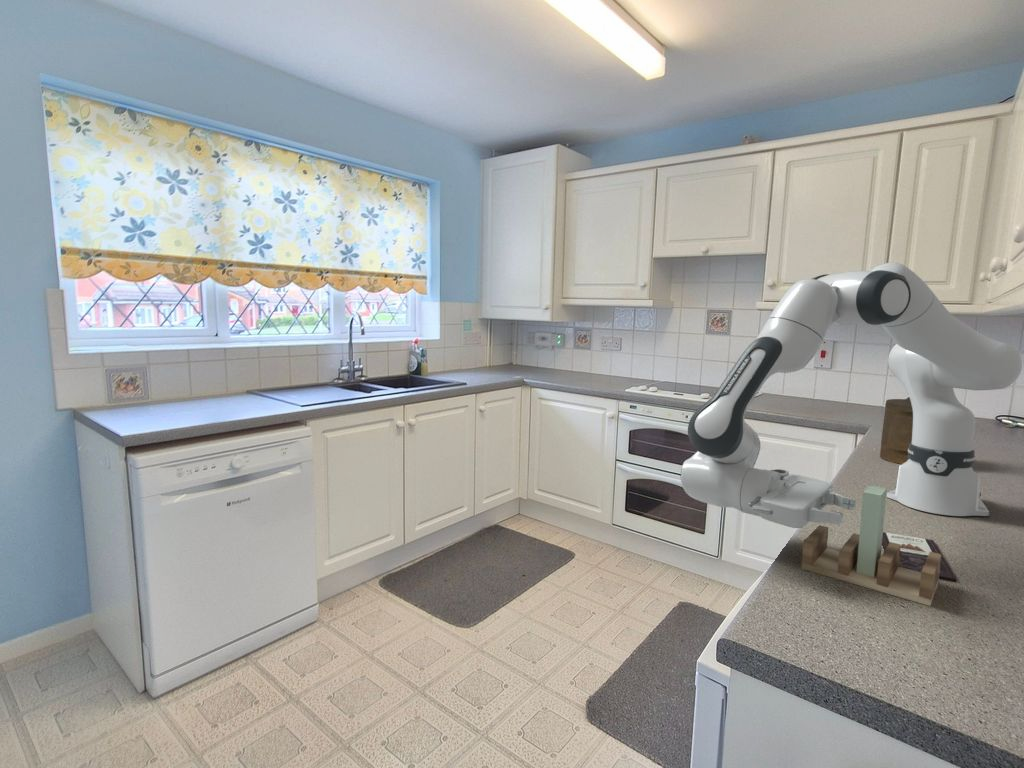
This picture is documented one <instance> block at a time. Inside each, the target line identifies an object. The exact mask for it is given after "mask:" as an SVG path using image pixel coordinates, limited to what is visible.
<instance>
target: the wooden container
mask: <svg viewBox="0 0 1024 768" xmlns="http://www.w3.org/2000/svg"><path fill="white" fill-rule="evenodd" d="M882 423H883V424H882V430H881V442H880V454H879V457H880V458H881V459H882V460H885V461H887V462H890V463H895V464H899V465H902V464H903V463H905V462H906V461H907V460H908V459H909V458H908V448H909V443H911V442H912V430H913V409H912V404H911V401H910V398H909V396H908V397H907V398H904V399H903V398H897V399H896V398H891V399H889V398H888V399H886V400H885V405H884V415H883V422H882Z"/></svg>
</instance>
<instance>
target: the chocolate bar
mask: <svg viewBox="0 0 1024 768" xmlns="http://www.w3.org/2000/svg"><path fill="white" fill-rule="evenodd" d="M890 542H892V543H896V544H901V546H900V557H899V567H902V568H905V569H909V570H913V571H917V572H921V571H922V569H923V566H924V564H925V562H926V559H927V557H928V555H929V552H934V553H939V554H941V562H940V572H939V580H941V579H942V580H943V581H946V582H954V583H956V582H957V578H956V577H955V574H954V573H953V571H952V569H951V568H950V566H949V564H948V563H947V561H946V559H945V557H944V556H943V554H942V553H941V551H940V549H939V547H938V546H937V544H936V543H935V540H934V539H929V538H923V537H922V538H921V537H916V536H909V535H903V534H897V533H896V534H895V533H890V532H884V531H883V536H882V546H883V547H882V550H883V549H884V550H883V552H884V551H885V549H886V548H887V546H888V545H889V543H890ZM942 580H941V581H942Z"/></svg>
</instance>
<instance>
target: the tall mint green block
mask: <svg viewBox="0 0 1024 768" xmlns="http://www.w3.org/2000/svg"><path fill="white" fill-rule="evenodd" d="M886 498H887V488H886V487H883V486H882V487H881V486H876V485H868V486H867V487H866V488H865V489H864V491H863V492H862V500H861V501H862V502H861V514H860V525H859V526H860V527H859V535H860V536H859V548H858V560H857V573H860V574H864V575H867V576H871V577H874V576H875V575H876V573H877V571H878V561H879V559H880V558H881V556H882V549H883V547H882V536H883V532H884V523H885V512H886V502H887V499H886Z"/></svg>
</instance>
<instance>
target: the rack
mask: <svg viewBox="0 0 1024 768" xmlns="http://www.w3.org/2000/svg"><path fill="white" fill-rule="evenodd" d="M828 536H829V527H828V526H823V525H818V526H817V527H816V528H814V530H813V531H812V532H811V533H810V534H809V535H808V536H807V537H806V538H805V539H804V540H803V542H802V543H803V544H802V557H801V569H802V570H806V571H808V572H812V573H816V574H819V575H822V576H826V577H830V578H833V579H837V580H839V581H843V582H846V583H850V584H853V585H857V586H860V587H863V588H867V589H870V590H875V591H877V592H880V593H883V594H884V593H885V594H887V595H892V596H895V597H897V598H901V599H904V600H908V601H912V602H915V603H919V604H922V605H925V606H929V607H931V605H932V602H933V599H934V597H935V595H936V591H937V588H938V586H939V580H940V579H939V572H940V562H941V554H942V553H941V554H939V553H934V552H929V555H928V557H927V559H926V562H925V564H924V566H923V569H922V571H921V572H917V571H913V570H909V569H905V568H902V567H899V557H900V546H901V544H896V543H892V542H890V543H889V545H888V546H887V548H886V549H885V551H884V550H883V553H881V558H880V559H879V561H878V571H877V573H876V575H875V576H874V577H871V576H867V575H864V574H860V573H857V560H858V548H859V536H860V534H857V533H852V534H851V535H850V537H849V538H848V539H847V541H846V542H845V543H844V545H842V547H841V548H840V549H839V550H836V549H833V548H828V539H829V537H828Z"/></svg>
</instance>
